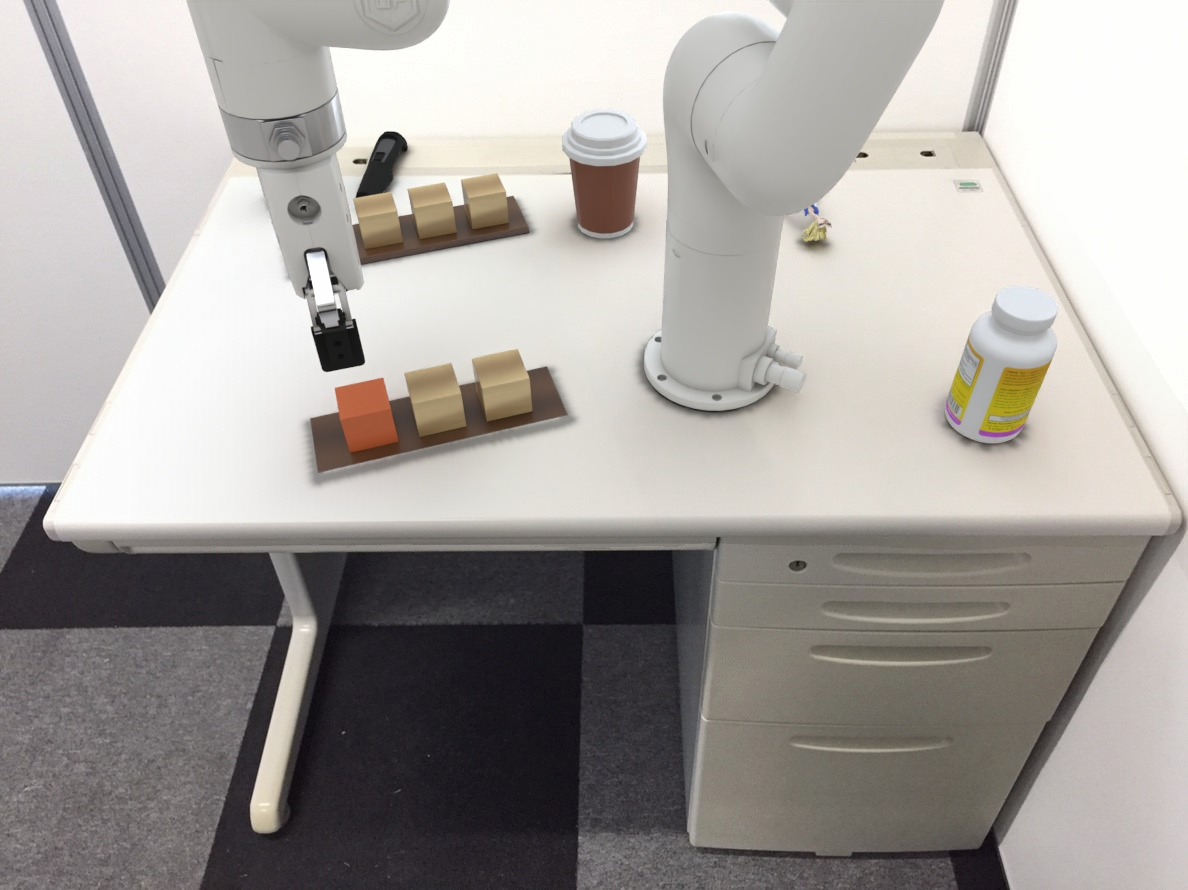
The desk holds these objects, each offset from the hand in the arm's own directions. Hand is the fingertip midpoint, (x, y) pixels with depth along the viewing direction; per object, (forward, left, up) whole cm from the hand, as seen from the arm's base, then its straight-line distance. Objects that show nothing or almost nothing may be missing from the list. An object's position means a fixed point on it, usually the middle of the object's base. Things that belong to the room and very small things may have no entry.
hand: (337, 327), depth 72 cm
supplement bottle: (-47, -28, -13) cm, 56 cm away
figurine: (-20, -51, -13) cm, 56 cm away
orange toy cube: (0, 0, -12) cm, 12 cm away
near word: (-5, -5, -12) cm, 14 cm away
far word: (+16, -27, -12) cm, 34 cm away
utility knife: (+27, -36, -13) cm, 47 cm away
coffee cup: (-2, -40, -13) cm, 42 cm away
